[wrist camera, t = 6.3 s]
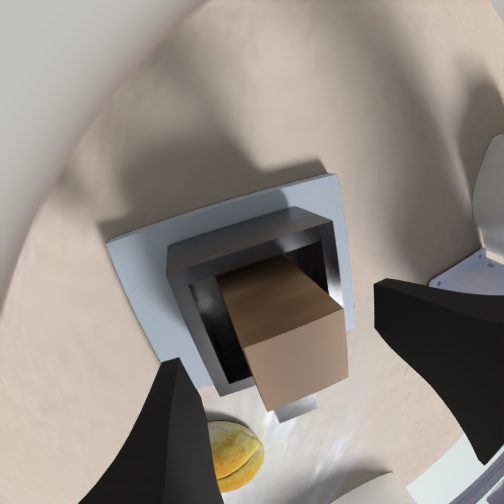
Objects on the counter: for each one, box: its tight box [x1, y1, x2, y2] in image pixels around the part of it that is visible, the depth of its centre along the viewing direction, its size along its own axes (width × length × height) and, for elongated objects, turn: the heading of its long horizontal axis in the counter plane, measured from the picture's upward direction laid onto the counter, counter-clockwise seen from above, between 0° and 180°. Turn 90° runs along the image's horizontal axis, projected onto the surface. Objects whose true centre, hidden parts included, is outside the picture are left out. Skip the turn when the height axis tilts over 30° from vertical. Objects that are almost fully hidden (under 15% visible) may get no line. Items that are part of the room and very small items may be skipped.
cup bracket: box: [166, 206, 343, 423], centre depth 13 cm, size 6×9×4 cm
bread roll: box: [207, 421, 264, 493], centre depth 18 cm, size 8×9×4 cm
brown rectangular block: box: [215, 254, 348, 412], centre depth 11 cm, size 3×3×6 cm
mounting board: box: [106, 173, 355, 389], centre depth 15 cm, size 12×10×1 cm
